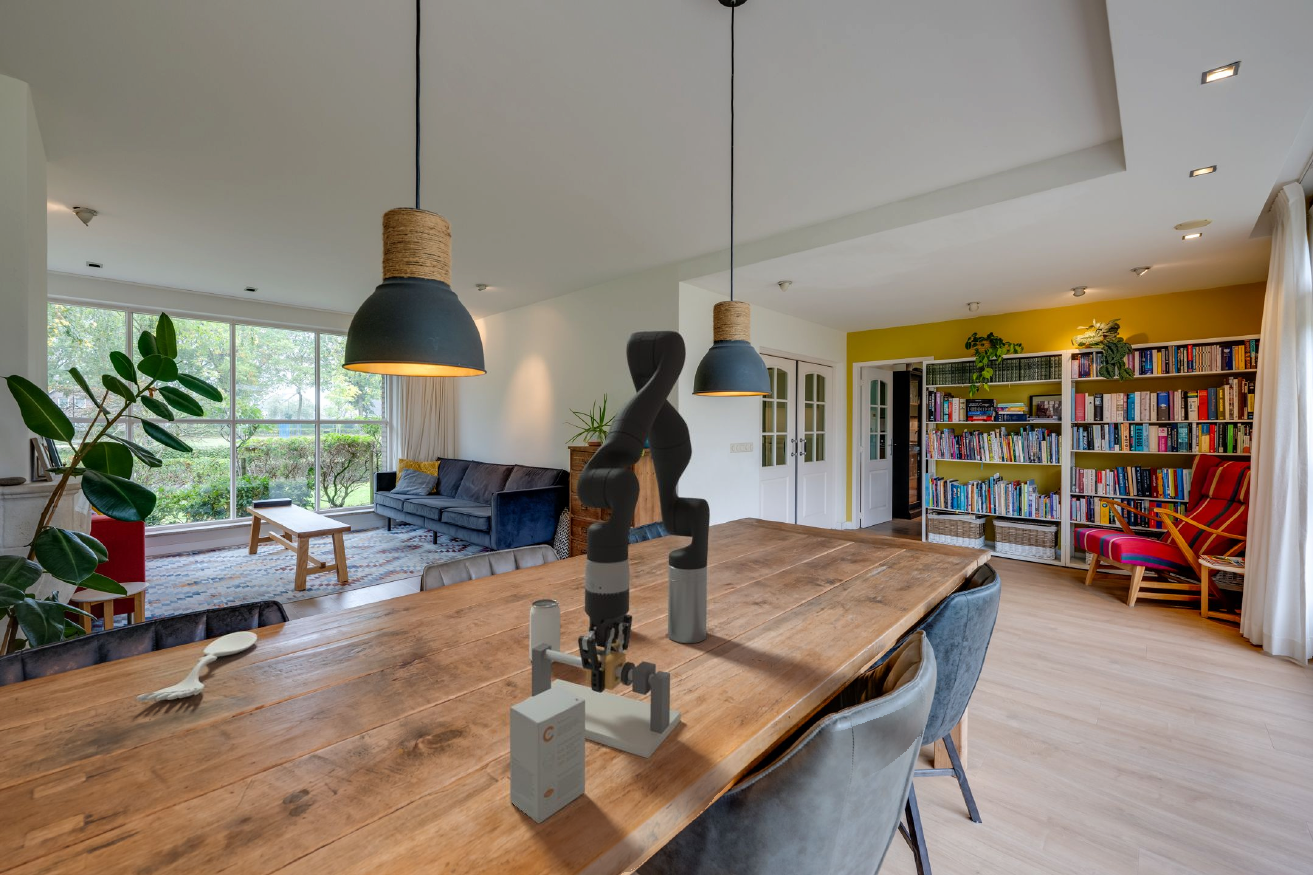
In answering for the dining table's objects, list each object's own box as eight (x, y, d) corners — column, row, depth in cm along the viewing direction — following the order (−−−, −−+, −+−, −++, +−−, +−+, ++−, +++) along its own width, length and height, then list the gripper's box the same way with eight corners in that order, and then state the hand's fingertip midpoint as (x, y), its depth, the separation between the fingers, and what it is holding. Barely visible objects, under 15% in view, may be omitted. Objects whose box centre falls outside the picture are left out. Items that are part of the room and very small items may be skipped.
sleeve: (600, 672, 96) (600, 648, 96) (625, 679, 94) (625, 653, 94) (586, 683, 92) (586, 657, 92) (612, 689, 90) (612, 663, 90)
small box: (556, 773, 79) (556, 684, 78) (586, 793, 75) (586, 698, 74) (508, 802, 73) (508, 705, 72) (538, 825, 68) (538, 723, 68)
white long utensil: (133, 716, 93) (133, 696, 93) (217, 644, 124) (217, 629, 124) (197, 708, 96) (197, 688, 96) (264, 640, 126) (264, 625, 126)
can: (553, 666, 114) (553, 609, 113) (524, 663, 115) (524, 606, 115) (564, 653, 120) (565, 599, 120) (537, 651, 121) (537, 597, 121)
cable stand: (557, 686, 105) (557, 630, 105) (680, 720, 93) (681, 657, 93) (514, 715, 94) (515, 653, 94) (648, 758, 83) (649, 687, 82)
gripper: (603, 600, 84) (602, 709, 85) (646, 577, 97) (645, 672, 98) (563, 592, 88) (562, 697, 88) (610, 571, 101) (609, 663, 101)
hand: (606, 683), depth 93 cm, fingers closed on sleeve, 4 cm apart
